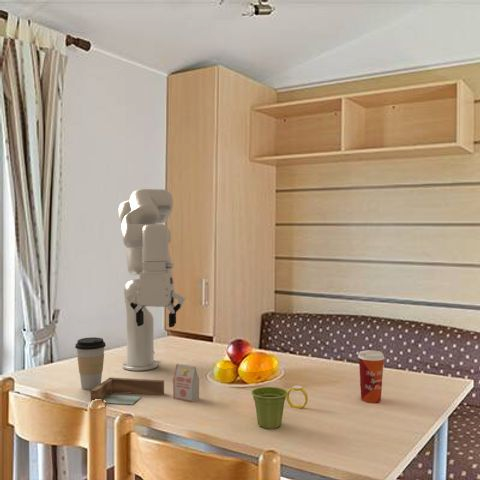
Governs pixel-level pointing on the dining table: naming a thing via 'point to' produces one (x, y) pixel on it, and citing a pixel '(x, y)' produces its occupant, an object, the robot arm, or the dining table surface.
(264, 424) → the plant pot
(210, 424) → the dining table surface
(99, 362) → the coffee cup
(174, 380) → the white carton
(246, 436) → the dining table surface
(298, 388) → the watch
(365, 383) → the paper cup
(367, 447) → the dining table surface
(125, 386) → the corner walls
